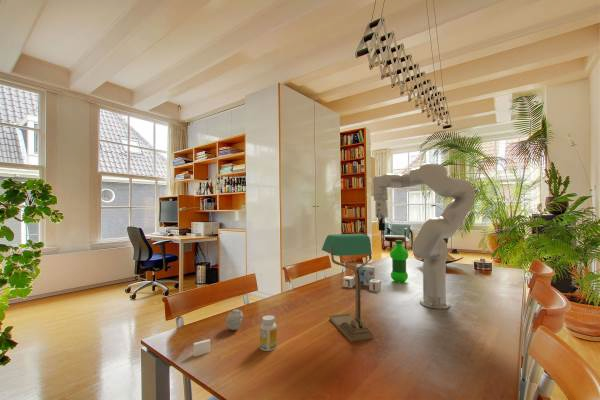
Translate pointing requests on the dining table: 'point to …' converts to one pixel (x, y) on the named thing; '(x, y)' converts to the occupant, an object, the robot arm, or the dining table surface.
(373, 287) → the numbered block 1
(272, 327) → the supplement bottle
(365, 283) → the light bulb box
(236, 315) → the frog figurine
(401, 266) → the plastic bottle
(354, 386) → the dining table surface
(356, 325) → the banker's lamp
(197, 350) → the eraser
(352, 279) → the numbered block 7
